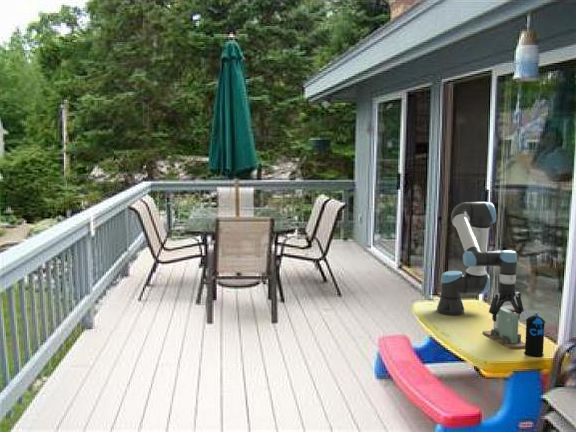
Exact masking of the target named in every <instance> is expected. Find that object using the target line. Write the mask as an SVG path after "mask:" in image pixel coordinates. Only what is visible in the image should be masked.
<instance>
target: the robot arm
mask: <svg viewBox="0 0 576 432" xmlns="http://www.w3.org/2000/svg"><path fill="white" fill-rule="evenodd" d="M450 219H451V220H450V221H451V223H452V225H453V226H454V227H455V228H456V232H457V234H458V237H459V239H460V242H461V245H462V248H463V250H464V252H463V254H462V262H463V265H464V266H466V267H468V268H467V269H466V270H465V273H463V272H462V271H461V270H449V271H444V272H443V273H442V274H441V277H440V298H439V301H438V304H437V306H436V312H437V311H438V312H437V313H439V314H442V315H445V316H446V315H447V316H461V315H464V313H465V307H464V303H463V299H462V295H484V294H487V292H488V291H489V289H490V285H491V277H490V275H489V273H488V272H487V270H486V269H485V267H499V278H498V279H499V283H498V289H499V292H498V293H495V292H494V293H493V294H492V300H491V304H490V307H489V309H488V313H490V314H491V315H492V321H493V328H494V327H495V328H498V315H497V313H498V312H499V310H500V308H501V307H502V306H504V305H503V304H505V303H506V302H510V305H511V306H513V308H514V310H515V312H514V313H516V314H518V315H519V318H518V321H519V320H520V318H521V317H520V316H521V314H522V313H523V312H524V311H525V309H524V306H523V302H522V297H521V296H522V293H521V292H519V291H516V289H517V287H516V285H517V284H516V281H517V264H518V256H517V255H518V254H517V252H516V251H515V250H511V249H510V250H509V249H508V250H507V249H505V250H501V249H500V250H499V249H496V250H494V251H493V250H492V251H487V247H488V236H489V229H491V228H492V224H494V223H496V220H497V211H496V208H495V205H494V204H493V202H488V201H469V202H468V201H466V202H464V201H463V202H461V203H458V204H457V205H456V206H455V207H454V208H453V210H452V212H451V216H450Z"/></svg>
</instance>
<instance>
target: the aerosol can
mask: <svg viewBox="0 0 576 432" xmlns="http://www.w3.org/2000/svg"><path fill="white" fill-rule="evenodd" d="M525 321H526V322H525V324H526V325H525V342H524V343H525V348H524V351H523V352H524V354H525V355H526V356H528V357H531V356H532V358H541V357H543V356H545V355H544V341H545V324H546V321H545V320H544V319H543V317H541V316H539V312H538V311H533V315H531V316H527V318H526V319H525Z"/></svg>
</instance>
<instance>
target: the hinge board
mask: <svg viewBox="0 0 576 432" xmlns="http://www.w3.org/2000/svg"><path fill="white" fill-rule="evenodd" d="M482 334H483V335H485V336H486V337H488V338H489V339H491V340H493V341H494V342H497V343H498V344H500V345H502V346H503V347H505V348H506V349H509V350H518V349H525V342H524V341H522V334H520V333H518V343H513V344H512V343H510V342H509V338H508V337H506V336H504V335H503V336H502V338H501V337H499V336H497V331H495V330H494V328H491V330H483V331H482Z"/></svg>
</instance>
